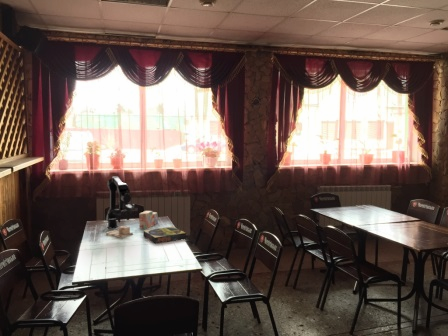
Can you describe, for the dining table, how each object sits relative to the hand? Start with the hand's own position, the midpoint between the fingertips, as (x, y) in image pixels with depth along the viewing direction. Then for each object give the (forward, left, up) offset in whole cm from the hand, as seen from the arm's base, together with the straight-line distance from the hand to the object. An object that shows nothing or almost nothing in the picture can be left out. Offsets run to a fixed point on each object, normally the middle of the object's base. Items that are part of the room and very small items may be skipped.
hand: (123, 221), depth 304 cm
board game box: (+31, +10, -12) cm, 34 cm away
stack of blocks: (-5, +34, -11) cm, 37 cm away
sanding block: (0, 0, -10) cm, 10 cm away
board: (-5, 0, -11) cm, 12 cm away
